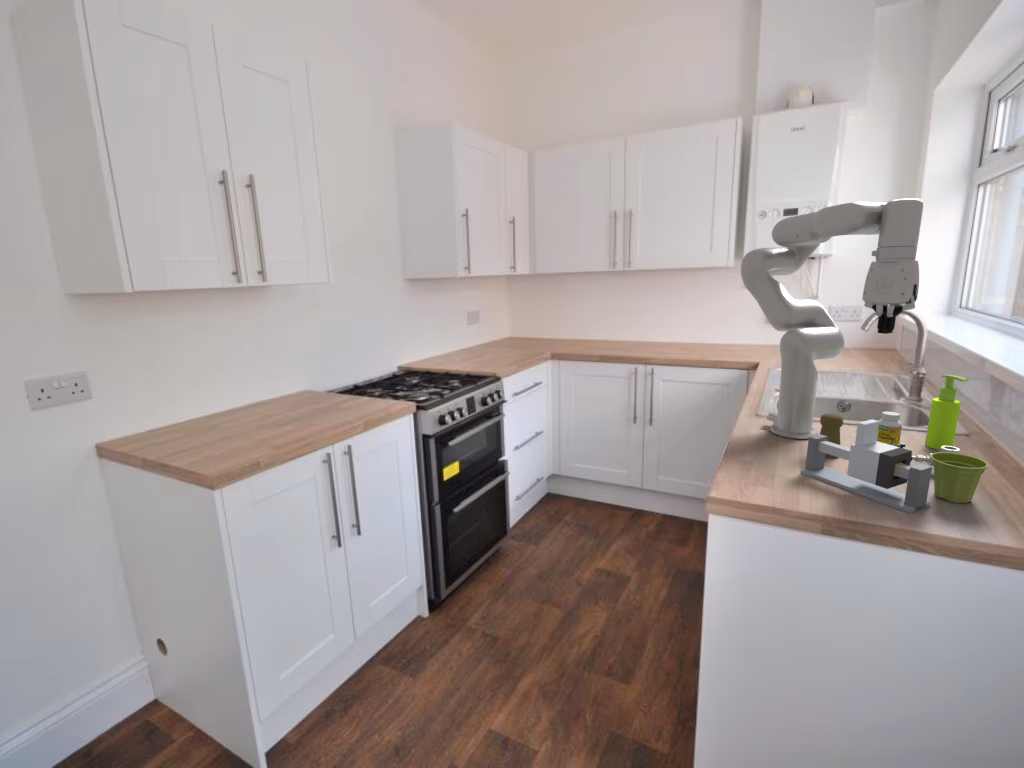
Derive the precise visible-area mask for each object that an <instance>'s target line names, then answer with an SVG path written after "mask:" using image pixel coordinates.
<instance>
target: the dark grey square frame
mask: <svg viewBox="0 0 1024 768" xmlns="http://www.w3.org/2000/svg"><path fill="white" fill-rule="evenodd" d="M911 456H913V451H912V450H910V449H906V448H905V447H903V448H896V449H893V450H889V451H886V452H882V453H880V455H879V461H878V468H877V475H876V482H875V485H877V486H880V487H882V488H885V489H889V488H890V489H892V488H895V487H897V486H898V487H899V486H901V485H904V484H907V483H908V479H905V478H901V477H898V476H894V469H895V463H896V462H903V464H905V465H908V466H911V462H912V461H911Z"/></svg>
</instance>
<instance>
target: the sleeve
mask: <svg viewBox="0 0 1024 768" xmlns="http://www.w3.org/2000/svg"><path fill="white" fill-rule="evenodd" d="M878 428H879V420H877V419H873V418H872V419H868V420H863V421H859V422H857V426H856V432H855V433H856V436H855V440H854V441H855V442H854V443H852V444H850V447H849V448H850V456H849V461H848V465H847V473H846V474H847V475H848V476H851V477H854V478H856V479H859V480H862V481H865V482H868V483H871V484H874V485H875V482H876V475H877V468H878V461H879V455H880V453H882V452H886V451H889V450H893V449H896V448H900V447H896V446H893V445H889V444H885V443H882V442H878V441H877V435H878Z"/></svg>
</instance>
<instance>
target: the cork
mask: <svg viewBox="0 0 1024 768" xmlns="http://www.w3.org/2000/svg"><path fill="white" fill-rule="evenodd" d="M819 422H820V425H821V428H820V431H819V434H821V435H824V436H828V438H827V441H828V442H831V443H835V444H838V445H841V428H842V426H843V425H844V418H843V416H841V415H839V414H836V413H824V414H822V415H821V416H820V419H819ZM825 459H839V457H836V456H833V455H830V454H826V455H825Z"/></svg>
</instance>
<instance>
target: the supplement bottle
mask: <svg viewBox="0 0 1024 768" xmlns="http://www.w3.org/2000/svg"><path fill="white" fill-rule="evenodd" d="M900 419H901V414H900V413H898V412H895V411H882V412H881V418H880V419H879V420H878V421H879V428H878V435H877V441H878V442H882V443H885V444H889V445H893V446H896V445H897V444H901V443H900V441H901V435H902V429H903V424H902V422H901V421H900Z"/></svg>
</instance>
